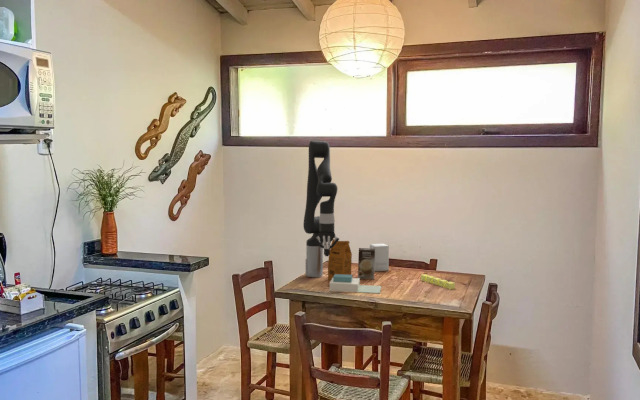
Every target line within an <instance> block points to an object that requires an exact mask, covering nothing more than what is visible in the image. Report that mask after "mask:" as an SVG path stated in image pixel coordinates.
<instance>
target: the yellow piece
mask: <svg viewBox="0 0 640 400" xmlns="http://www.w3.org/2000/svg"><path fill="white" fill-rule="evenodd" d="M420 281H422V282H426V283H430V284H433V285H434V286H435V285H436V286H439V287H442V288H445V289H449V290H453V289H455V288H456V283H455V282H452V281H448V280H446V279H442V278H439V277H436V276H432V275H429V274H426V273H425V274H424V273H423V274H420Z"/></svg>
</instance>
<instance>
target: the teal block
mask: <svg viewBox="0 0 640 400" xmlns="http://www.w3.org/2000/svg"><path fill="white" fill-rule="evenodd" d="M352 278H353V274H351V275H344V274H335V275H334V277H333V282H352Z"/></svg>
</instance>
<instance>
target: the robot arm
mask: <svg viewBox="0 0 640 400" xmlns="http://www.w3.org/2000/svg"><path fill="white" fill-rule="evenodd" d="M316 159H323V160H322V161H321V162H320V164H319V165H318V167H317V164H316V161H315V160H316ZM307 171H308V172H307V174H308V175H307V181H306V182H307V185H306V203H305V210H304V211H305V212H304V217H303V230H304V232H305V233H306V234H308V235H309V234H310V235H311V234H312V236H311V237H309V238H308V239H307V240H306V249H305V251H306V252H305V253H306V256H305V277H310V278H320V277H323V274H324V273H323V270H324V264H323V263H324V256H325V257H329V255H330V248H333V247H334V245H335V244H336V243H337V242H338V241H340V237H338V236H336V233H335V201H336V197H337V194H338V185H337V184H336V183H335V182H332V181H333V177H332V173H331V172H332V171H331V148H330V143H329V142H328V141H325V140H310V141H309V144H308V170H307ZM324 197H325V198H326V197H327V198H328V197H329V199H327V200H325V201H321V200H322V198H324ZM320 201H321V202H320ZM319 203H320V204H319ZM318 205H319V215H318V216H317V215H316V216H315V214H316V209H317V207H318ZM333 239H334V241H335V242H334V243H333V244H332V240H333ZM331 244H332V245H331Z"/></svg>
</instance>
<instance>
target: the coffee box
mask: <svg viewBox="0 0 640 400" xmlns="http://www.w3.org/2000/svg"><path fill="white" fill-rule="evenodd" d="M357 259H358V260H357V261H358V264H357V278H360V279H361V280H363V279H364V280H375V271H374V266H375V249H370V247H369V248H365V247H364V248H362V247H359V248H358V258H357Z"/></svg>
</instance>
